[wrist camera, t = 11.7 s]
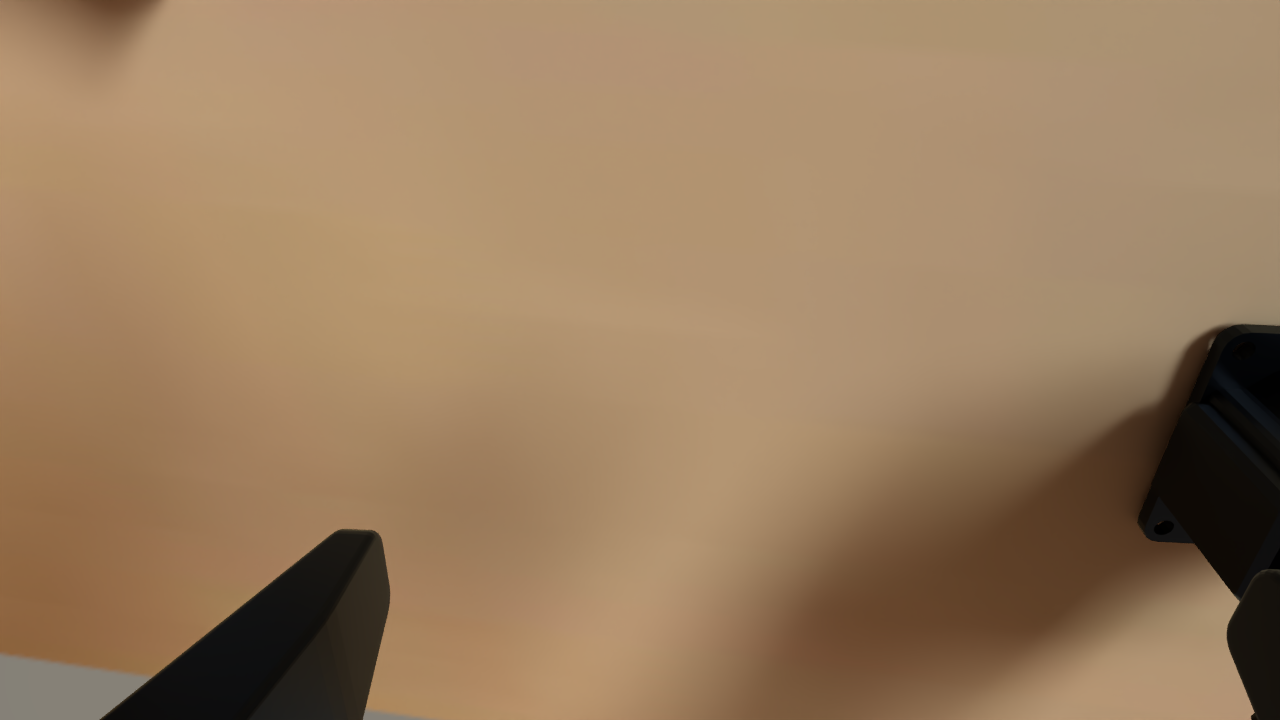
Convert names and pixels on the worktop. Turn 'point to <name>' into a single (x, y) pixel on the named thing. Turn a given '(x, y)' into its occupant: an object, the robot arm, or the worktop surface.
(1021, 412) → the worktop surface
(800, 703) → the worktop surface
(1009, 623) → the worktop surface
